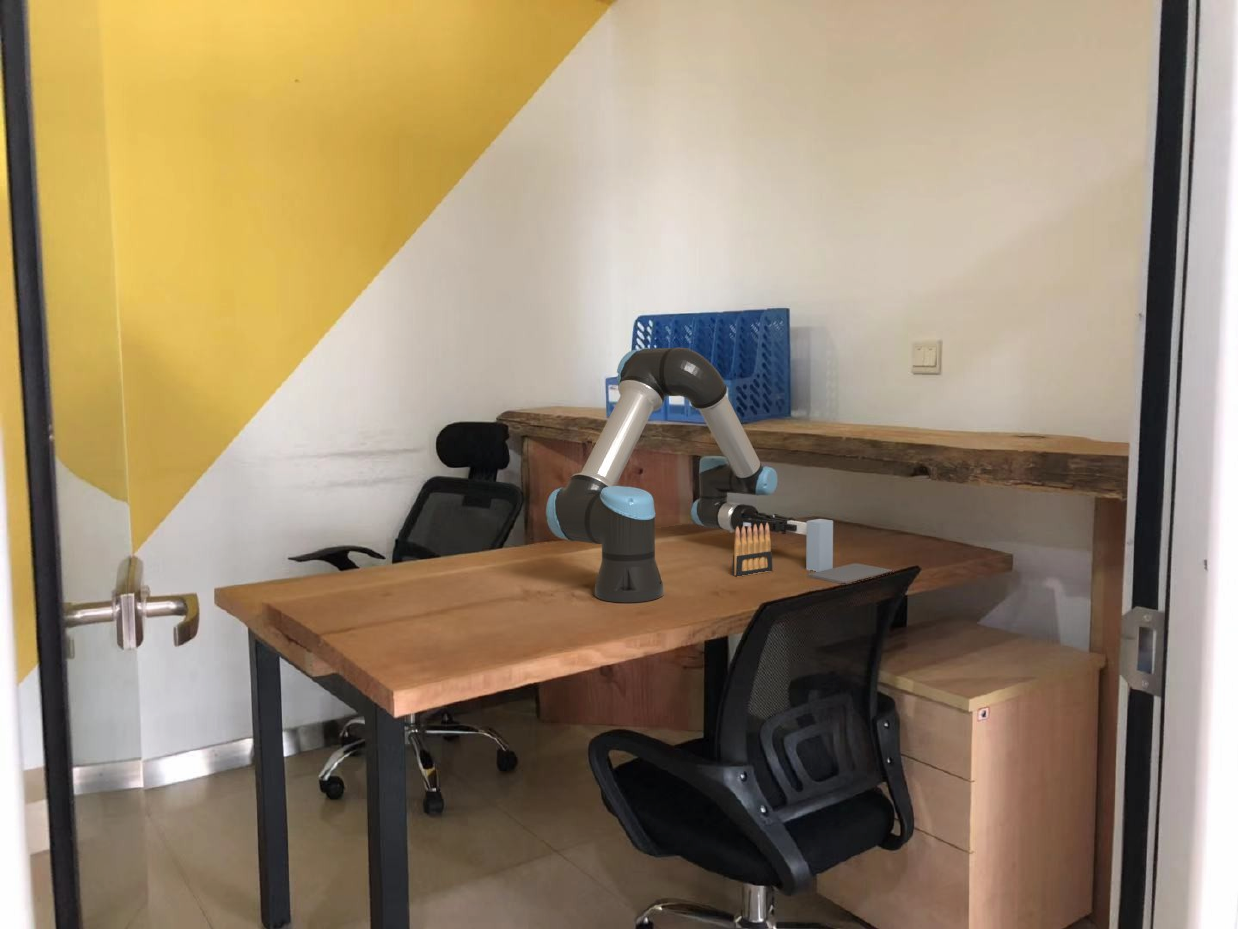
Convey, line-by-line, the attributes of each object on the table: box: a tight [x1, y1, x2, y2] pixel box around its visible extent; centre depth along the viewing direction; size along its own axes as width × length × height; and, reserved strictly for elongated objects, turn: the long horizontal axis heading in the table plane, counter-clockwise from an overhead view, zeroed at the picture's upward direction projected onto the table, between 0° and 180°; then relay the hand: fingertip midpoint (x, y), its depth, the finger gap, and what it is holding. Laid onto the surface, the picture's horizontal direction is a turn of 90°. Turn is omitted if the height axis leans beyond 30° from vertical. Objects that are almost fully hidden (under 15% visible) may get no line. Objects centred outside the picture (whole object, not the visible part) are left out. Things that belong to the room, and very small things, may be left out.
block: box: [805, 518, 834, 572], centre depth 229 cm, size 5×4×12 cm
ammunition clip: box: [731, 523, 773, 577], centre depth 226 cm, size 11×2×12 cm, turn 119°
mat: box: [807, 562, 893, 584], centre depth 224 cm, size 18×11×1 cm, turn 129°
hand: (809, 529), depth 232 cm, fingers closed
